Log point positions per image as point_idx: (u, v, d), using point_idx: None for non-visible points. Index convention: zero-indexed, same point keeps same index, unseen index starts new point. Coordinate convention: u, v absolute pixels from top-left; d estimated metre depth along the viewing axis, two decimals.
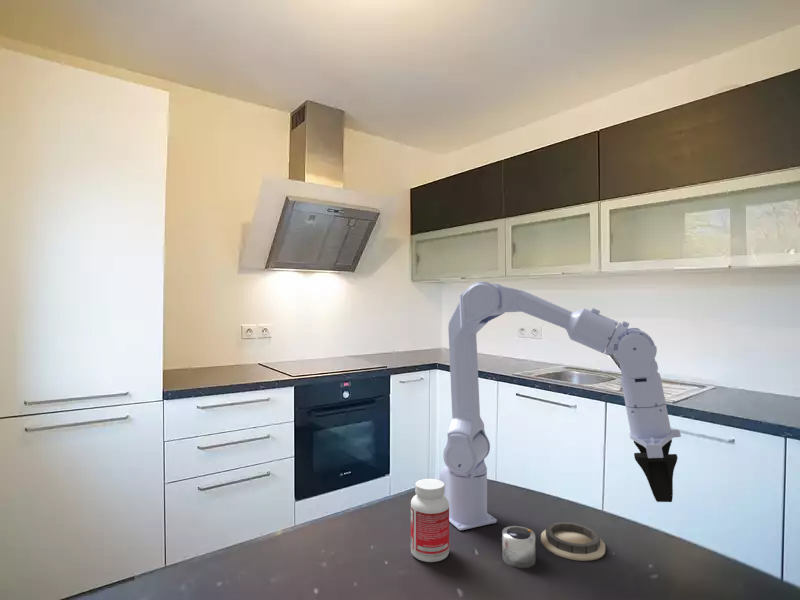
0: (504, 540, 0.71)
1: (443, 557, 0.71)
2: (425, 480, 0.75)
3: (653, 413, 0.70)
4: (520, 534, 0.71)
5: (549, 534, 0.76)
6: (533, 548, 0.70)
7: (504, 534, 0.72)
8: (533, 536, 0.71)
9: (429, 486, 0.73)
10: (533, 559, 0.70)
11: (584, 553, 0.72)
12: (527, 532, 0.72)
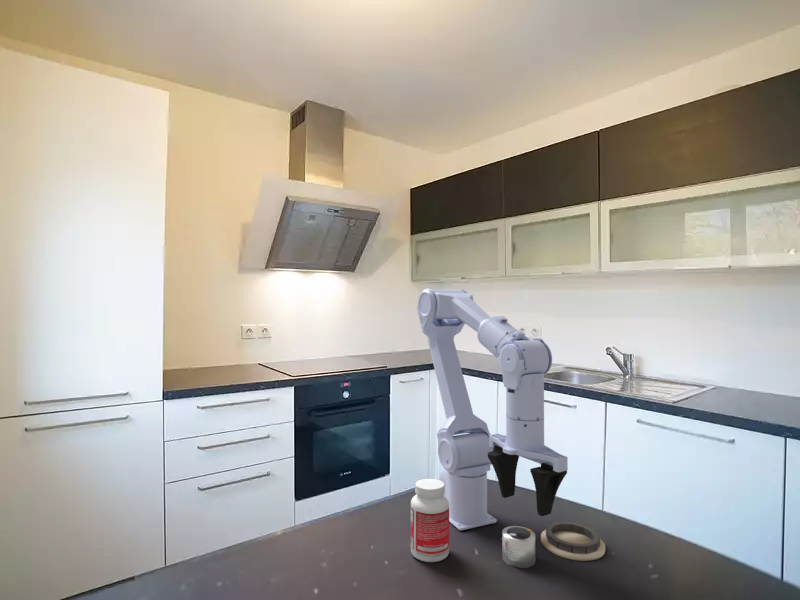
0: (504, 540, 0.71)
1: (443, 557, 0.71)
2: (425, 480, 0.75)
3: None
4: (520, 534, 0.71)
5: (549, 534, 0.76)
6: (533, 548, 0.70)
7: (504, 534, 0.72)
8: (533, 536, 0.71)
9: (429, 486, 0.73)
10: (533, 559, 0.70)
11: (584, 553, 0.72)
12: (527, 532, 0.72)
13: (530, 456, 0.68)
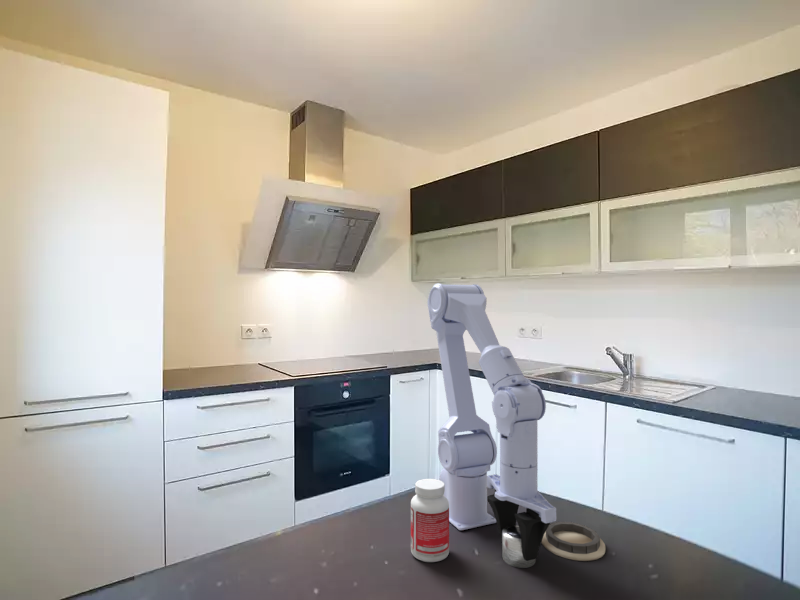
0: (504, 540, 0.71)
1: (443, 557, 0.71)
2: (425, 480, 0.75)
3: None
4: (520, 534, 0.71)
5: (549, 534, 0.76)
6: None
7: (504, 534, 0.72)
8: None
9: (429, 486, 0.73)
10: (533, 559, 0.70)
11: (584, 553, 0.72)
12: None
13: (520, 504, 0.68)
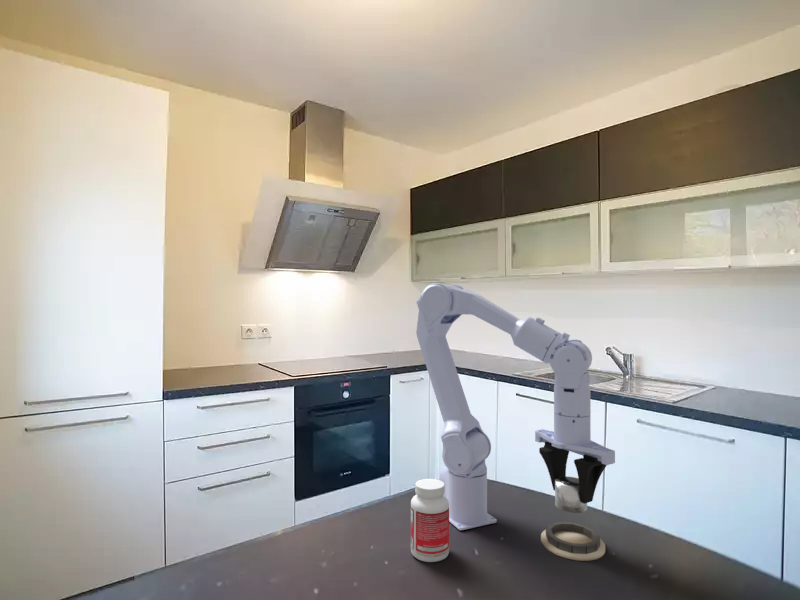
0: (559, 488, 0.75)
1: (443, 557, 0.71)
2: (425, 480, 0.75)
3: None
4: (573, 482, 0.76)
5: (549, 534, 0.76)
6: None
7: (558, 483, 0.76)
8: None
9: (429, 486, 0.73)
10: (586, 504, 0.75)
11: (584, 553, 0.72)
12: (578, 480, 0.76)
13: (579, 450, 0.73)
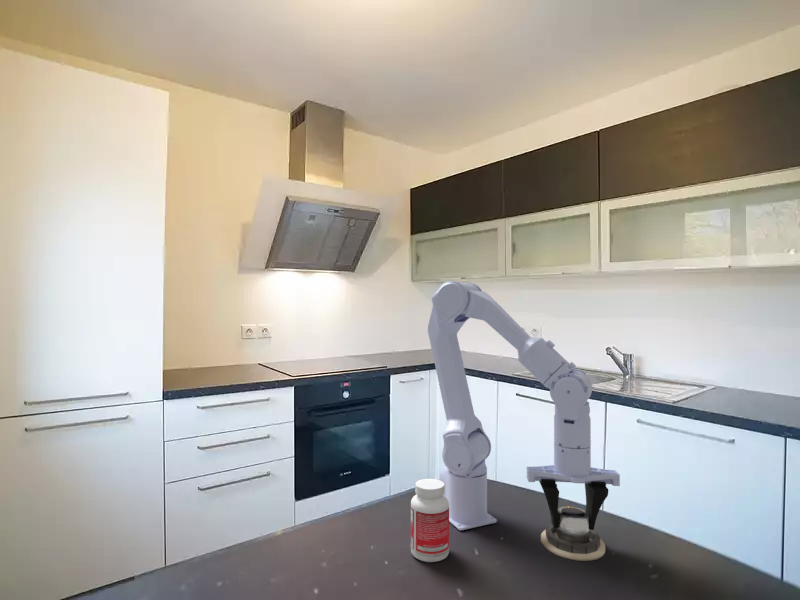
0: (574, 524, 0.74)
1: (443, 557, 0.71)
2: (425, 480, 0.75)
3: (556, 450, 0.76)
4: (577, 512, 0.76)
5: (549, 534, 0.76)
6: None
7: (572, 519, 0.74)
8: (580, 509, 0.77)
9: (429, 486, 0.73)
10: None
11: (584, 553, 0.72)
12: (574, 508, 0.77)
13: (595, 479, 0.74)
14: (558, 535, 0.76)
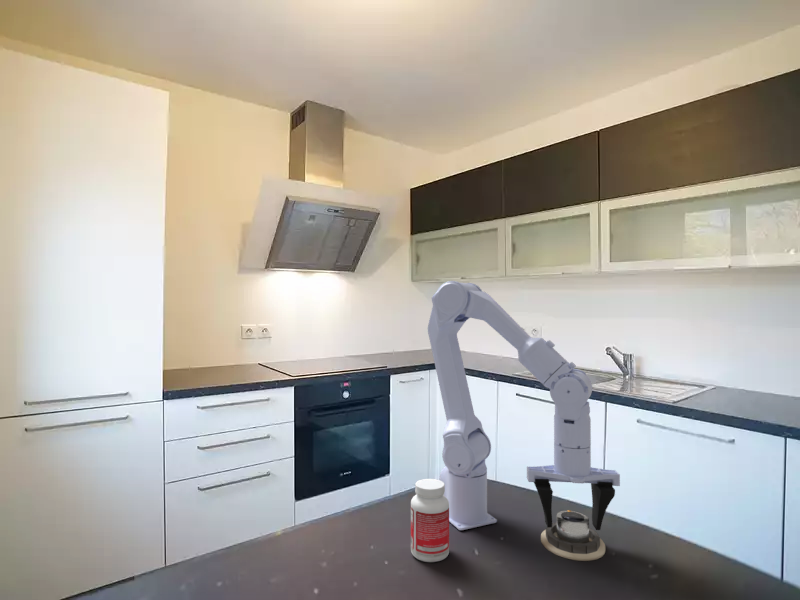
0: (574, 528, 0.74)
1: (443, 557, 0.71)
2: (425, 480, 0.75)
3: (556, 450, 0.76)
4: (577, 516, 0.76)
5: (549, 534, 0.76)
6: None
7: (572, 523, 0.74)
8: (580, 513, 0.77)
9: (429, 486, 0.73)
10: None
11: (584, 553, 0.72)
12: (574, 513, 0.77)
13: (595, 479, 0.74)
14: None
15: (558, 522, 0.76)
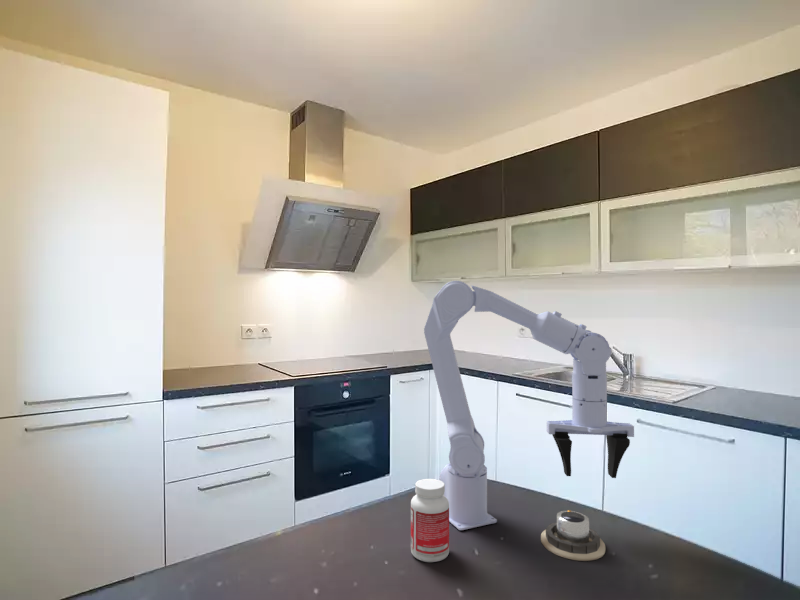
0: (574, 528, 0.74)
1: (443, 557, 0.71)
2: (425, 480, 0.75)
3: (575, 404, 0.82)
4: (577, 516, 0.76)
5: (549, 534, 0.76)
6: None
7: (572, 523, 0.74)
8: (580, 513, 0.77)
9: (429, 486, 0.73)
10: None
11: (584, 553, 0.72)
12: (574, 513, 0.77)
13: (611, 430, 0.80)
14: None
15: (558, 522, 0.76)
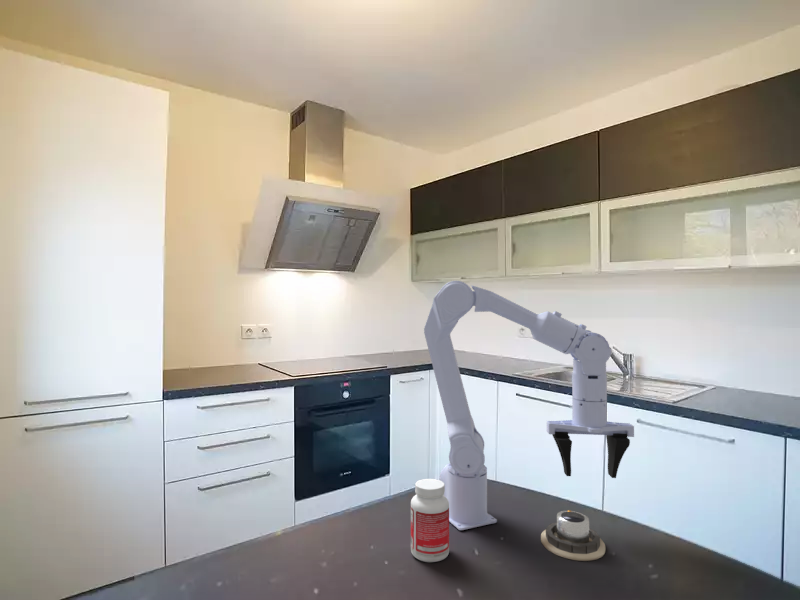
0: (574, 528, 0.74)
1: (443, 557, 0.71)
2: (425, 480, 0.75)
3: (575, 404, 0.82)
4: (577, 516, 0.76)
5: (549, 534, 0.76)
6: None
7: (572, 523, 0.74)
8: (580, 513, 0.77)
9: (429, 486, 0.73)
10: None
11: (584, 553, 0.72)
12: (574, 513, 0.77)
13: (611, 430, 0.80)
14: None
15: (558, 522, 0.76)
